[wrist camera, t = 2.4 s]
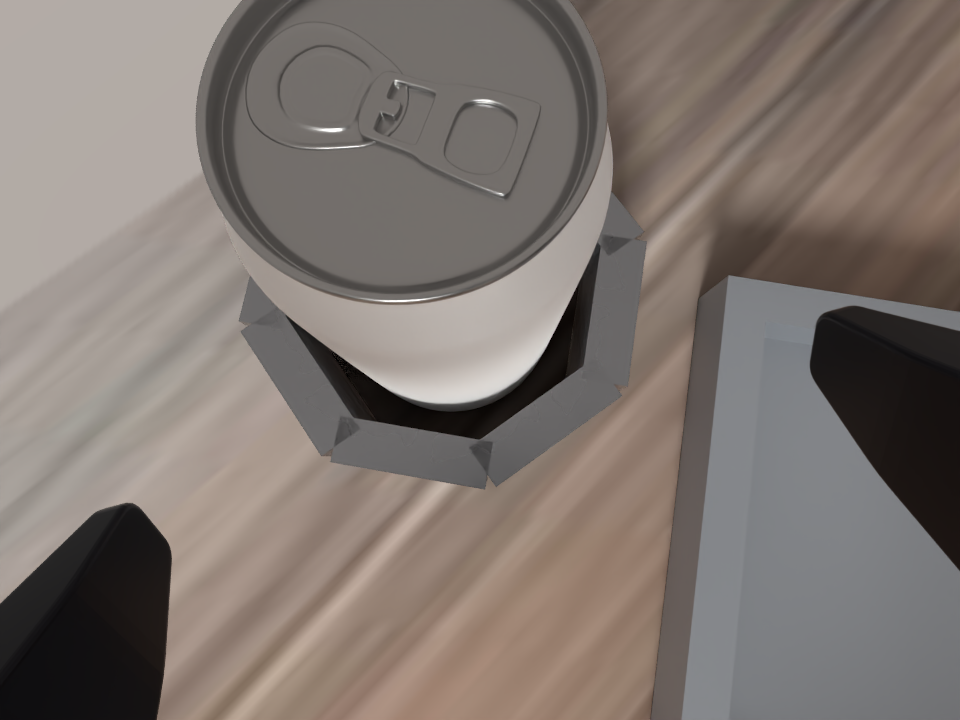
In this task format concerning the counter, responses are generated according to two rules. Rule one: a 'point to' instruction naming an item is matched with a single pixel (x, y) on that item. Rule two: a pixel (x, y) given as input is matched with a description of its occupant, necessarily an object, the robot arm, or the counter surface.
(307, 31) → the can
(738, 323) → the tray
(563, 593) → the counter surface
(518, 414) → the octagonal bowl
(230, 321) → the counter surface
